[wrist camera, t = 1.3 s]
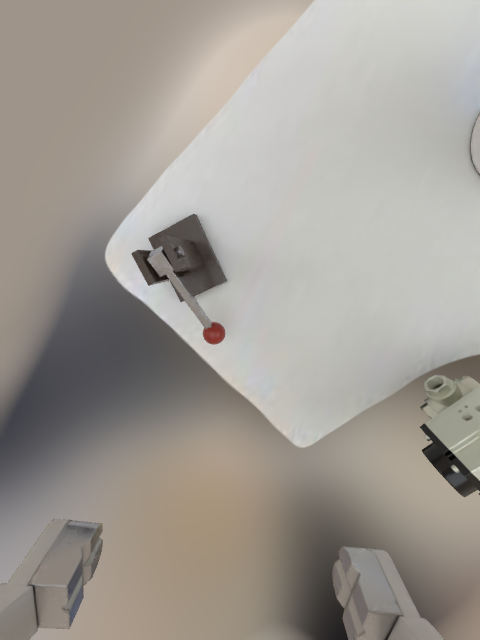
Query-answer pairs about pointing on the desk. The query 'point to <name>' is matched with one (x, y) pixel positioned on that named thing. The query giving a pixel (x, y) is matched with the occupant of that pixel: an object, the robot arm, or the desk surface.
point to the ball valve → (454, 430)
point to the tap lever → (186, 295)
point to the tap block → (184, 257)
